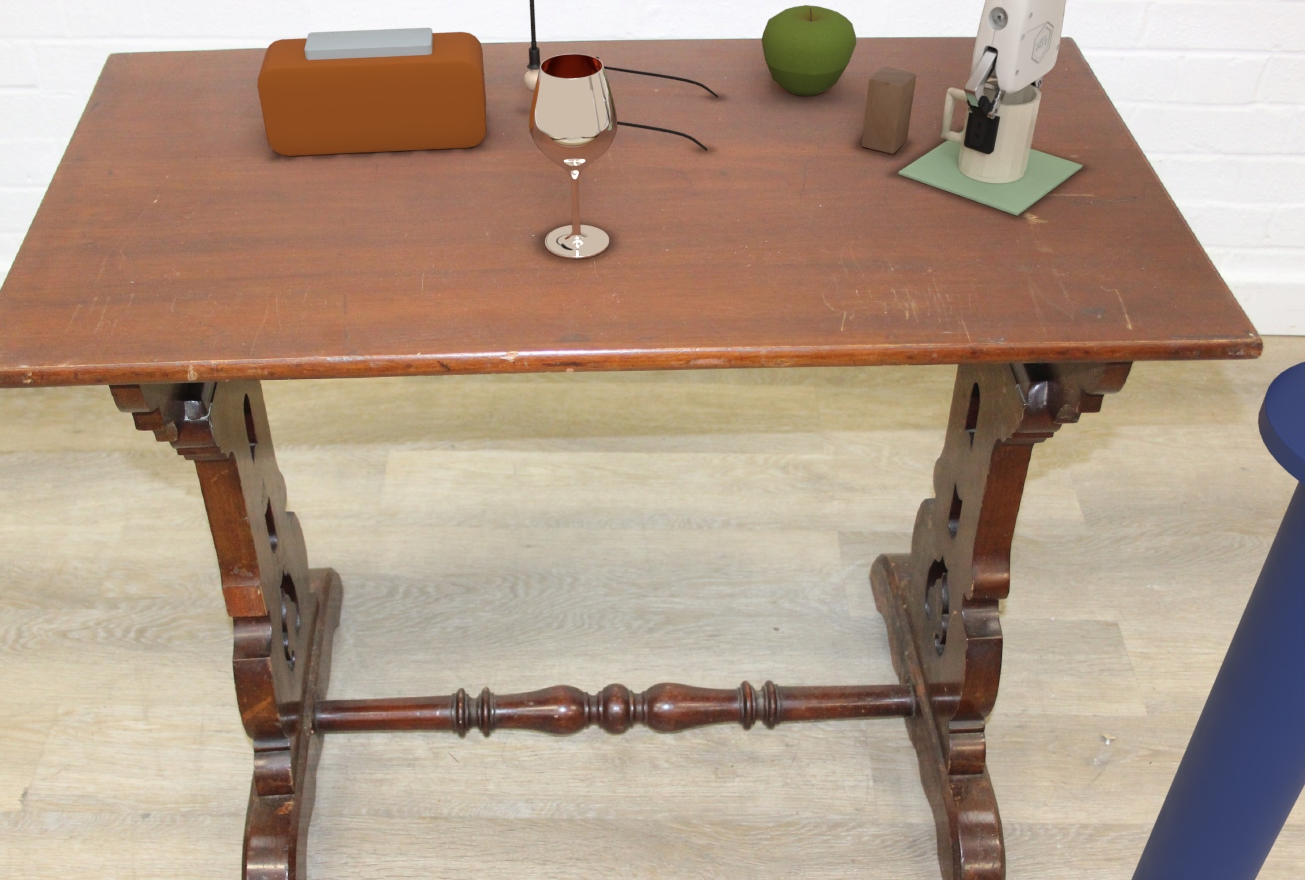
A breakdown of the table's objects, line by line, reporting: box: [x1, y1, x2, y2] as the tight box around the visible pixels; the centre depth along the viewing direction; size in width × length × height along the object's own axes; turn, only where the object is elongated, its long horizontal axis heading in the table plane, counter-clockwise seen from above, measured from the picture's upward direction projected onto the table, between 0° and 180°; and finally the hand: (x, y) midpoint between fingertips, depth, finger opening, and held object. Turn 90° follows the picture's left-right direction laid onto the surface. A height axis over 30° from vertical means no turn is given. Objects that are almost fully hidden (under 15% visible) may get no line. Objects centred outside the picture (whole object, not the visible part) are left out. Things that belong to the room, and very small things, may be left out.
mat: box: [898, 130, 1084, 217], centre depth 142 cm, size 14×14×1 cm
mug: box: [939, 78, 1043, 184], centre depth 140 cm, size 10×7×8 cm
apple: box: [761, 4, 857, 97], centre depth 155 cm, size 11×10×10 cm
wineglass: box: [528, 53, 618, 260], centre depth 126 cm, size 8×8×18 cm
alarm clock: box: [257, 27, 487, 157], centre depth 147 cm, size 24×8×11 cm, turn 94°
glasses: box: [594, 56, 719, 151], centre depth 152 cm, size 14×15×5 cm
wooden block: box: [861, 66, 917, 155], centre depth 144 cm, size 4×4×8 cm
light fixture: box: [523, 0, 542, 92], centre depth 148 cm, size 7×7×25 cm
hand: (997, 135), depth 139 cm, fingers closed on mug, 7 cm apart
